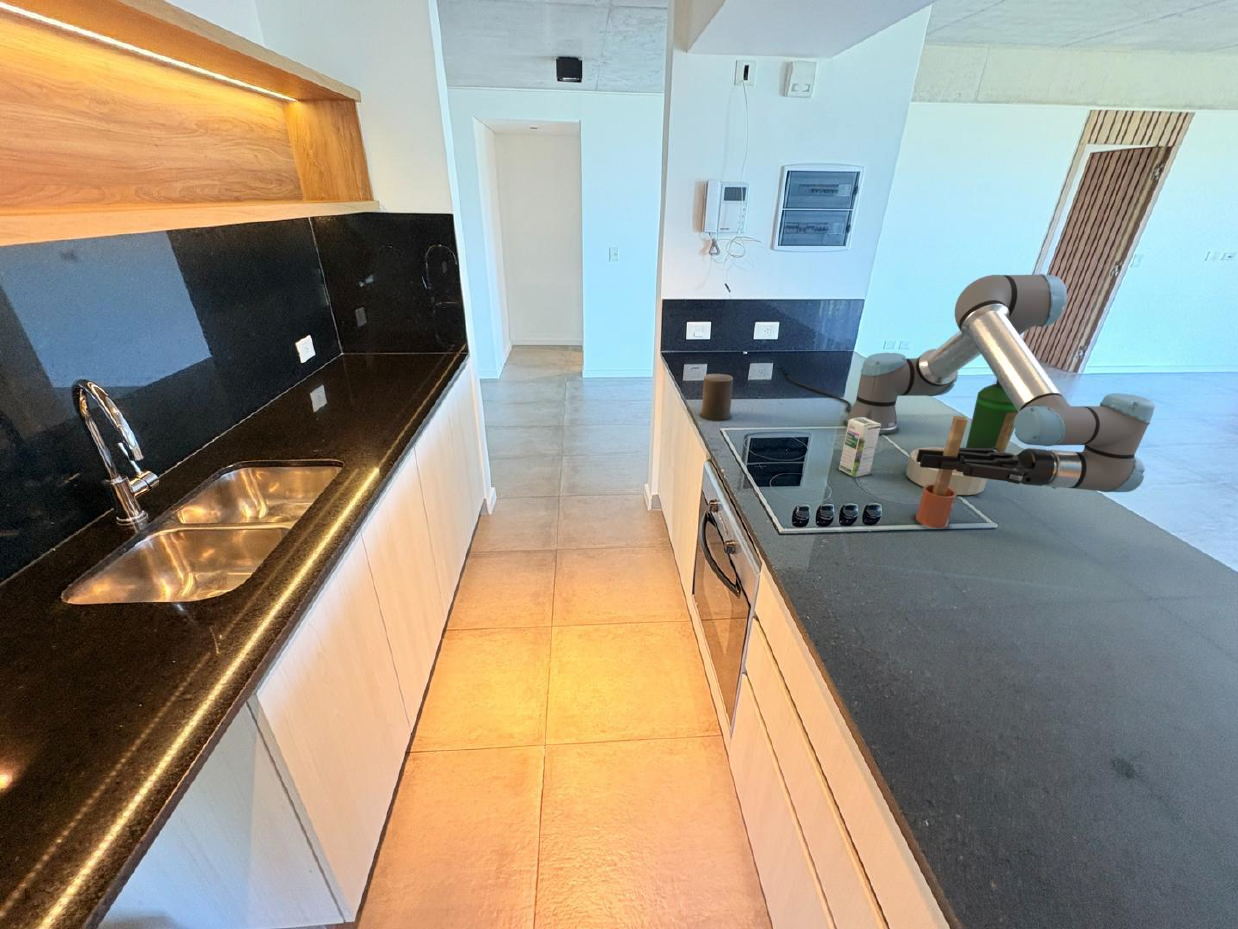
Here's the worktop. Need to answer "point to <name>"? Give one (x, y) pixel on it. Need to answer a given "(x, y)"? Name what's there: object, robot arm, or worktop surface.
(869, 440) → the syrup box
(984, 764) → the worktop surface
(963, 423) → the stirring stick
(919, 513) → the utensil pot
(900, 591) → the worktop surface
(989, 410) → the bottle
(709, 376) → the pillar candle
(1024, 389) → the robot arm
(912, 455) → the bowl
